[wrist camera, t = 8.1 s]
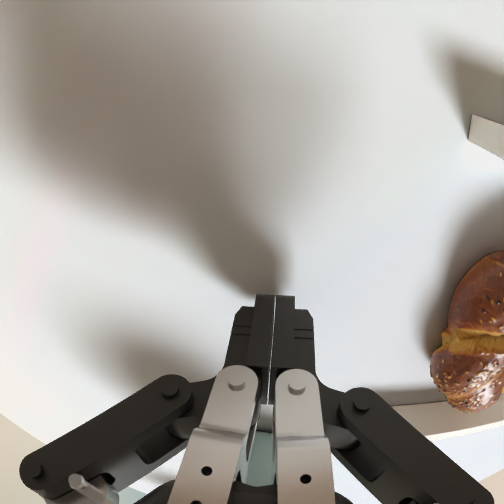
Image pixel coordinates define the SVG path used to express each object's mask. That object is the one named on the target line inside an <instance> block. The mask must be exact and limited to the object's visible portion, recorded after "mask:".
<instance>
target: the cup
mask: <svg viewBox="0 0 504 504" xmlns="http://www.w3.org/2000/svg"><path fill="white" fill-rule="evenodd" d="M271 475H272V434H271V433H267V432H260V431H256V432H255V437H254V441H253V446H252V450H251V455H250V459H249V464H248V471H247V478H246V483H245V484H248V485H251V486H255V487H259V486H266V485H271Z"/></svg>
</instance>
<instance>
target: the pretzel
mask: <svg viewBox="0 0 504 504" xmlns="http://www.w3.org/2000/svg"><path fill="white" fill-rule="evenodd" d="M430 374H431V377H432V378H433V380H434V384H436V385H437V387H438V389H439V391H441V392H442V393H443V394H445V397H446V399H447V401H448V404H451V406H452V407H453V408H456V409H458V410H459V411H463V412H465V413H469V412H470V413H474V412H479V411H480V410H485V409H486V408H488V407H491V406H492V405H493V404H495V403H496V402H497V401H498V400H499V398H500V395H501V393H504V250H501V251H496V252H493V253H491V254H489V255H487V256H485V257H484V258H482V259H481V260H480V261H478V262H477V263H476V264H475V265H474V266H473V267H472V268H471V269H470V270H469V271H468V272H467V273H466V275H465V276H464V277H463V278H462V280H461V281H460V282H459V283H458V285H457V288H456V290H455V292H454V295H453V297H452V299H451V302H450V307H449V315H448V327H447V328H446V329H445V330H444V331H443V332H442V346H441V347H440V348H438V349H436V350H435V351H434V352H433V353H432V357H431V365H430Z"/></svg>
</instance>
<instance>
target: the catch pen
mask: <svg viewBox="0 0 504 504" xmlns="http://www.w3.org/2000/svg"><path fill="white" fill-rule="evenodd" d="M468 141H470V142H472V143H474V144H476V145H478V146H480V147H482V148H483V149H485V150H487V151H489V152H491V153H493V154H495V155H496V156H498V157H500V158H502V159H503V160H504V125H502V124H500V123H497V122H494V121H491V120H488V119H485V118H482V117H478V116H475V115H472V119H471V126H470V133H469V139H468ZM391 407H392V408H393V409H394V410H395V411H397V412H398V413H399V414H400V415H401V416H402V417H403V418H404V419H406V420H407V421H408V422H409V423H410V424H411V425H412V426H413V427H415V428H416V429H417V430H418V431H419V432H420V433H421V434H423V435H424V436H425V437H426V438H427V439H428V440H429V441H434V440H440V439H446V438H451V437H457V436H462V435H467V434H471V433H476V432H480V431H484V430H488V429H492V428H496V427H500V426H503V425H504V393H501V395H500V398H499V400H498V401H497V402H496V403H495V404H493V405H492V406H491V407H488V408H486V409H485V410H480V411H479V412H474V413H470V412H469V413H465V412H463V411H459V410H458V409H456V408H453V407H452V406H451V404H448V401H444V402H436V403H426V404H415V405H402V406H391Z"/></svg>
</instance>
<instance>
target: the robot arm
mask: <svg viewBox="0 0 504 504" xmlns="http://www.w3.org/2000/svg"><path fill="white" fill-rule="evenodd" d="M274 303H275V295H263V294H257V295H256V300H255V306H254V307H247V306H242V307H241V308H240V310H239V311H238V312H237V313H236V314H235V318H234V322H233V327H232V331H231V336H230V341H229V345H228V350H227V354H226V359H225V364H224V367H223V369H222V370H221V371H220V372H219V373H218V375H217V376H215V377H213V378H211V379H209V380H206V381H200V382H193V383H189V382H188V381H187V380H186V379H185V378H184V377H182V376H179V375H173V374H171V375H165V376H162V377H160V378H158V379H157V380H155V381H153V382H152V383H150V384H149V385H147V386H145V387H144V388H142V389H141V390H139V391H137V392H136V393H134V394H133V395H131V396H129V397H128V398H126V399H124V400H123V401H121V402H120V403H118V404H116V405H115V406H113V407H111V408H110V409H108V410H106V411H105V412H103V413H101V414H100V415H98V416H96V417H95V418H93V419H91V420H89V421H88V422H86V423H84V424H83V425H81V426H79V427H77V428H76V429H74V430H72V431H70V432H69V433H67V434H65V435H63V436H62V437H60V438H58V439H56V440H54V441H53V442H51V443H49V444H47V445H45V446H44V447H42V448H40V449H38V450H36V451H34V452H32V453H31V454H29V455H27V456H26V457H25V458H24V459H23V460H22V462H21V464H20V469H19V472H20V477H21V480H22V481H23V483H24V484H25V485H26V486H27V487H28V488H30V489H31V490H33V491H35V492H36V493H38V494H39V495H40V496H41V497H43V498H44V500H45V501H46V503H47V504H119V495H118V492H119V491H121V490H123V489H124V488H126V487H128V486H129V485H131V484H132V483H134V482H136V481H137V480H139V479H140V478H142V477H143V476H145V475H147V474H148V473H150V472H151V471H153V470H154V469H156V468H157V467H159V466H160V465H162V464H163V463H165V462H166V461H168V460H169V459H170V458H172V457H173V456H175V455H176V454H178V453H179V452H180V451H182V450H183V449H185V448H186V447H187V448H186V451H185V454H184V457H183V459H182V462H181V465H180V468H179V471H178V474H177V477H176V480H172V481H169V482H167V483H164V484H163V485H161V486H159V487H157V488H156V489H154V490H153V491H151V492H150V493H149V494H147V495H146V496H144V497H143V498H142V499H140V500H138V501H137V502H136V503H134V504H353V503H352V502H351V501H350V500H348V499H347V498H346V497H344V496H342V495H341V494H339V493H337V492H334V482H333V471H332V461H331V453H332V454H333V455H334V456H335V457H336V458H337V459H338V460H339V461H340V462H341V463H342V464H343V465H344V466H345V467H346V468H347V469H348V470H349V471H350V472H351V473H352V474H353V475H354V476H355V478H356V479H357V480H358V481H359V482H360V483H361V484H362V485H363V486H364V487H365V488H367V489H368V490H369V491H370V492H371V493H372V494H373V495H374V496H375V497H376V498H377V499H378V500H379V501H380V502H381V503H382V504H494V499H493V497H492V495H491V493H490V492H489V491H488V490H487V489H485V488H484V487H483V486H482V485H481V484H479V483H478V482H477V481H476V480H475V479H474V478H472V477H471V476H470V475H469V474H468V473H467V472H465V471H464V470H463V469H462V468H461V467H460V466H458V465H457V464H456V463H455V462H454V461H453V460H451V459H450V458H449V457H448V456H447V455H446V454H444V453H443V452H442V451H441V450H440V449H439V448H437V447H436V446H435V445H434V444H433V443H432V442H431V441H429V440H428V439H427V438H426V437H425V436H424V435H423V434H421V433H420V432H419V431H418V430H417V429H416V428H415V427H413V426H412V425H411V424H410V423H409V422H408V421H407V420H406V419H404V418H403V417H402V416H401V415H400V414H399V413H398V412H397V411H395V410H394V409H393V408H392V407H391V406H390V405H389V404H388V403H386V402H385V401H384V400H383V399H382V398H381V397H380V396H379V395H377V394H376V393H375V392H374V391H372V390H370V389H367V388H361V387H359V388H353V389H351V390H349V391H347V392H346V393H344V392H341V391H337V390H334V389H331V388H329V387H327V386H325V385H324V384H322V383H321V382H320V380H319V379H318V377H317V375H316V372H315V349H314V332H313V330H314V327H313V318H312V317H311V315H310V313H309V312H308V310H302V309H295V296H283V295H276V307H275V320H274ZM273 324H274V332H273ZM272 339H273V344H272ZM271 350H272V356H271ZM270 362H271V368H270ZM269 373H270V385H269V402H268V404H271V405H274V406H273V418H272V475H271V485H266V486H259V487H255V486H251V485H248V484H245V483H246V478H247V471H248V464H249V459H250V455H251V450H252V446H253V441H254V437H255V432H256V427H257V422H258V419H259V415H260V406H261V404H267V394H268V383H269Z"/></svg>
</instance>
